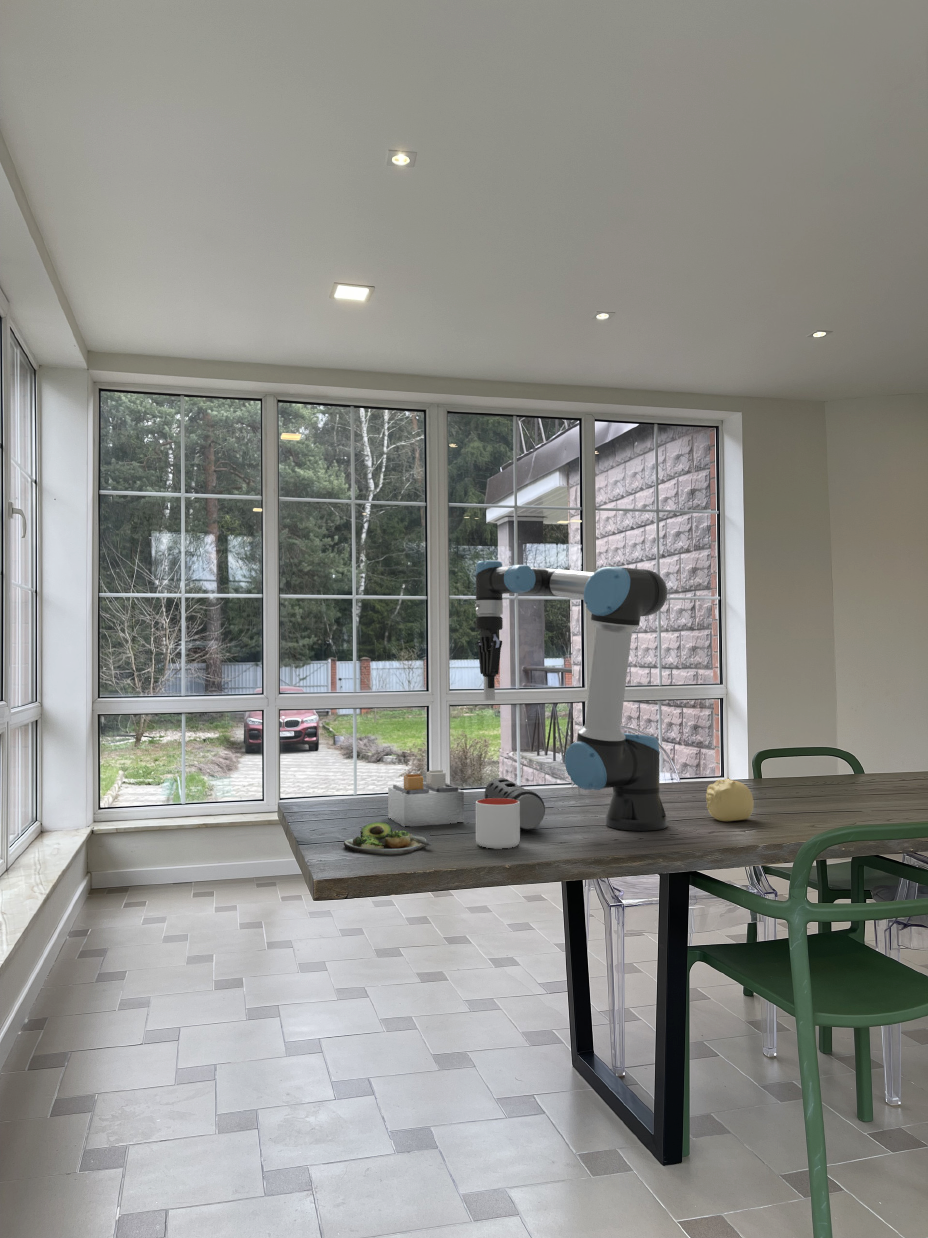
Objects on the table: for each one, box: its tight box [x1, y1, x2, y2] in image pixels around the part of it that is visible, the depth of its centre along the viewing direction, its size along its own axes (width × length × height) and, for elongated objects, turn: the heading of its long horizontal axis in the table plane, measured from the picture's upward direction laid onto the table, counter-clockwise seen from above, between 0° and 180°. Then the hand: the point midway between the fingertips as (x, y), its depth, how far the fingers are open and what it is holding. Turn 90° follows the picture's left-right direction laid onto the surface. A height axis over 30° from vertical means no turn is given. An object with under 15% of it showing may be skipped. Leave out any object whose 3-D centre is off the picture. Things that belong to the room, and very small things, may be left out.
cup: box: [475, 798, 521, 850], centre depth 210 cm, size 10×10×10 cm
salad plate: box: [343, 821, 433, 855], centre depth 208 cm, size 19×18×5 cm
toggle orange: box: [403, 773, 424, 790], centre depth 238 cm, size 4×4×4 cm
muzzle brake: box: [484, 777, 546, 831], centre depth 235 cm, size 10×28×10 cm, turn 12°
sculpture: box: [705, 778, 755, 822], centre depth 241 cm, size 12×12×11 cm
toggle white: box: [425, 769, 447, 787], centre depth 246 cm, size 4×4×4 cm
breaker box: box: [387, 782, 465, 828], centre depth 241 cm, size 14×16×9 cm
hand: (489, 700), depth 259 cm, fingers closed
